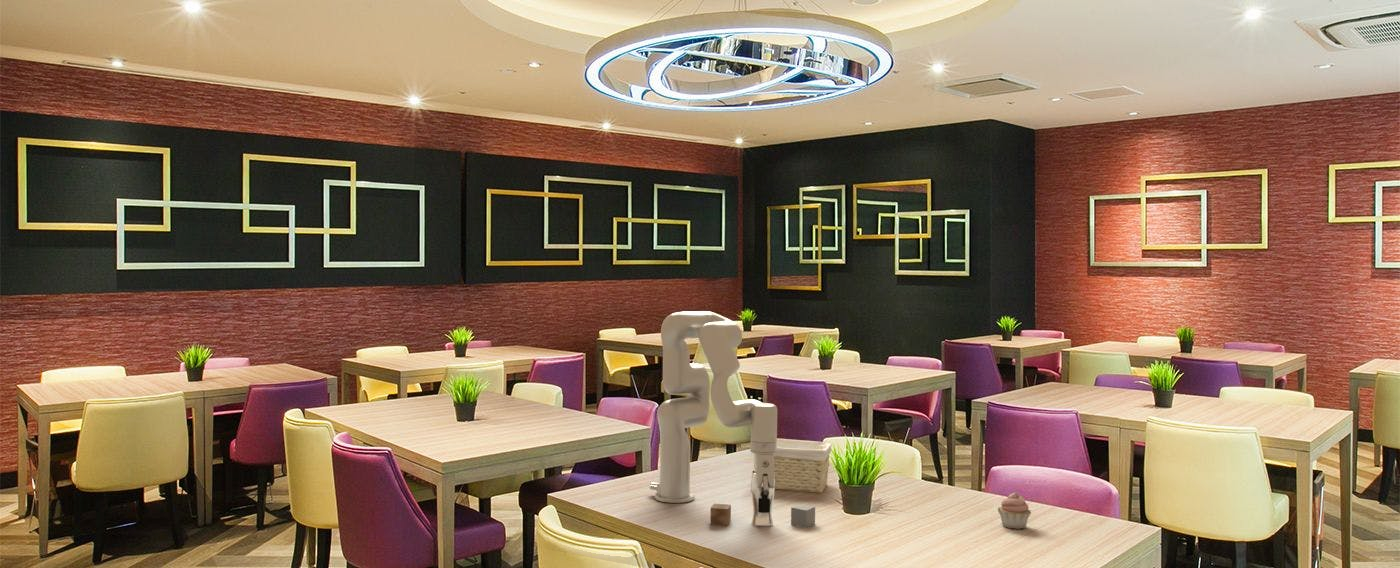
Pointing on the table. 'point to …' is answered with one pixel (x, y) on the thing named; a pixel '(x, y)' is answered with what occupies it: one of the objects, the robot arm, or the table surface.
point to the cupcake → (1014, 512)
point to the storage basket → (801, 465)
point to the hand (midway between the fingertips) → (762, 508)
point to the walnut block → (720, 514)
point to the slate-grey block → (802, 515)
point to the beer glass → (757, 518)
